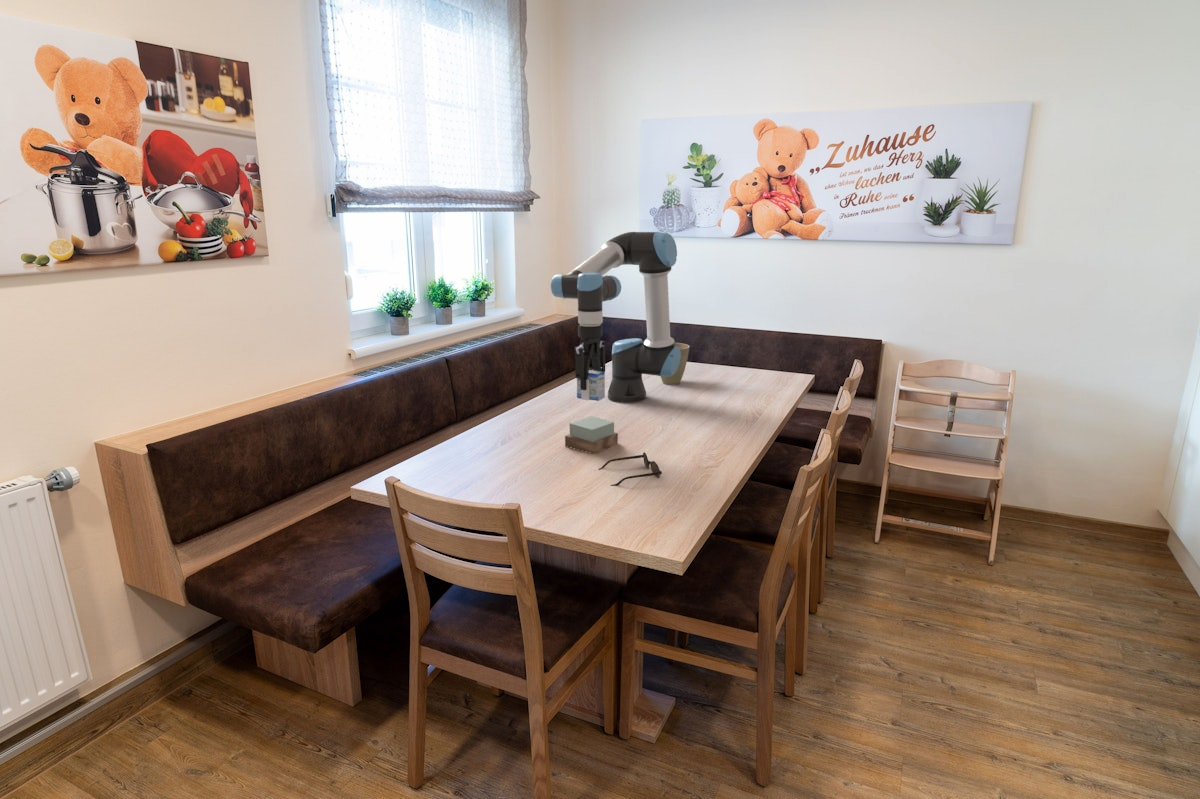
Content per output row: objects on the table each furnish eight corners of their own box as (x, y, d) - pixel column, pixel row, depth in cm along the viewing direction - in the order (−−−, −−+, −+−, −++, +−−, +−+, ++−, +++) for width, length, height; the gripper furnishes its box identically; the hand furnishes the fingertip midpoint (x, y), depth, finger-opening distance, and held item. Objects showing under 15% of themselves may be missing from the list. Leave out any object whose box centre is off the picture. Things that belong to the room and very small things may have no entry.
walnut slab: (588, 437, 239) (588, 426, 237) (617, 445, 232) (617, 433, 231) (565, 447, 229) (565, 436, 228) (595, 455, 222) (595, 443, 221)
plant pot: (664, 376, 315) (665, 341, 311) (694, 381, 307) (695, 344, 303) (646, 384, 304) (647, 346, 299) (677, 389, 295) (678, 351, 291)
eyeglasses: (661, 482, 201) (662, 465, 200) (611, 488, 197) (611, 471, 196) (643, 464, 215) (644, 448, 213) (596, 469, 211) (596, 453, 209)
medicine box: (576, 398, 226) (575, 371, 224) (583, 394, 230) (583, 368, 228) (598, 401, 223) (598, 374, 220) (605, 397, 226) (605, 371, 224)
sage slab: (591, 427, 236) (591, 415, 235) (614, 434, 230) (614, 422, 228) (569, 435, 229) (569, 423, 228) (592, 442, 223) (592, 429, 221)
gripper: (597, 319, 229) (598, 389, 235) (562, 327, 215) (563, 402, 221) (617, 321, 225) (617, 393, 231) (581, 329, 211) (582, 405, 217)
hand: (590, 397), depth 226 cm, fingers closed on medicine box, 5 cm apart
